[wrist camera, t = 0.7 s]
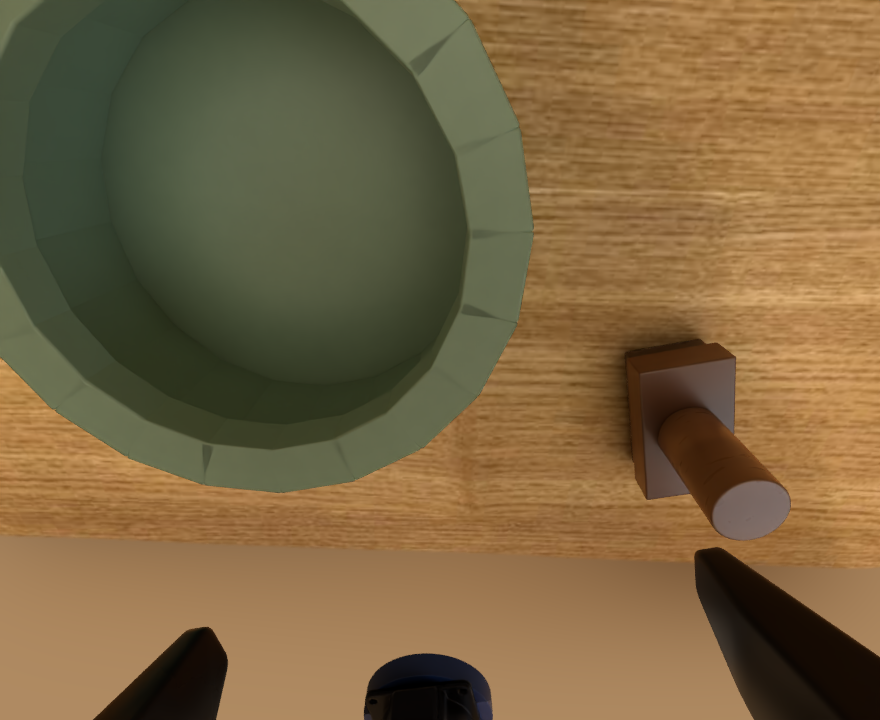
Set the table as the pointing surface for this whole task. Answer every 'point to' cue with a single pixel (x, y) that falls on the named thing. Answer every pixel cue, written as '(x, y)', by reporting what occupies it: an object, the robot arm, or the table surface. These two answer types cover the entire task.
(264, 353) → the bowl
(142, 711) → the robot arm
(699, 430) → the stamp
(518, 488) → the table surface
